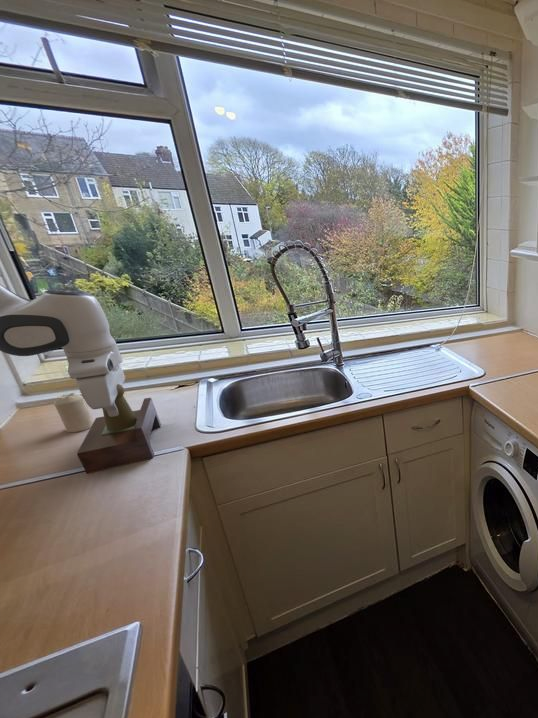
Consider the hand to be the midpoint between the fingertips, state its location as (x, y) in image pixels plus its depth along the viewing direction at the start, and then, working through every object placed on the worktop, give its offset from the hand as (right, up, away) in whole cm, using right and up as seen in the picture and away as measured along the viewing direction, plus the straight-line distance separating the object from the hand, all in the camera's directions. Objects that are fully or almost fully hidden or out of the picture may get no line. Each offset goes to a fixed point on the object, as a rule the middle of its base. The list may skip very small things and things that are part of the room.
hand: (117, 410), depth 101 cm
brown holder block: (0, -9, +3) cm, 10 cm away
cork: (0, -4, +2) cm, 4 cm away
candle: (-21, -6, +11) cm, 24 cm away
